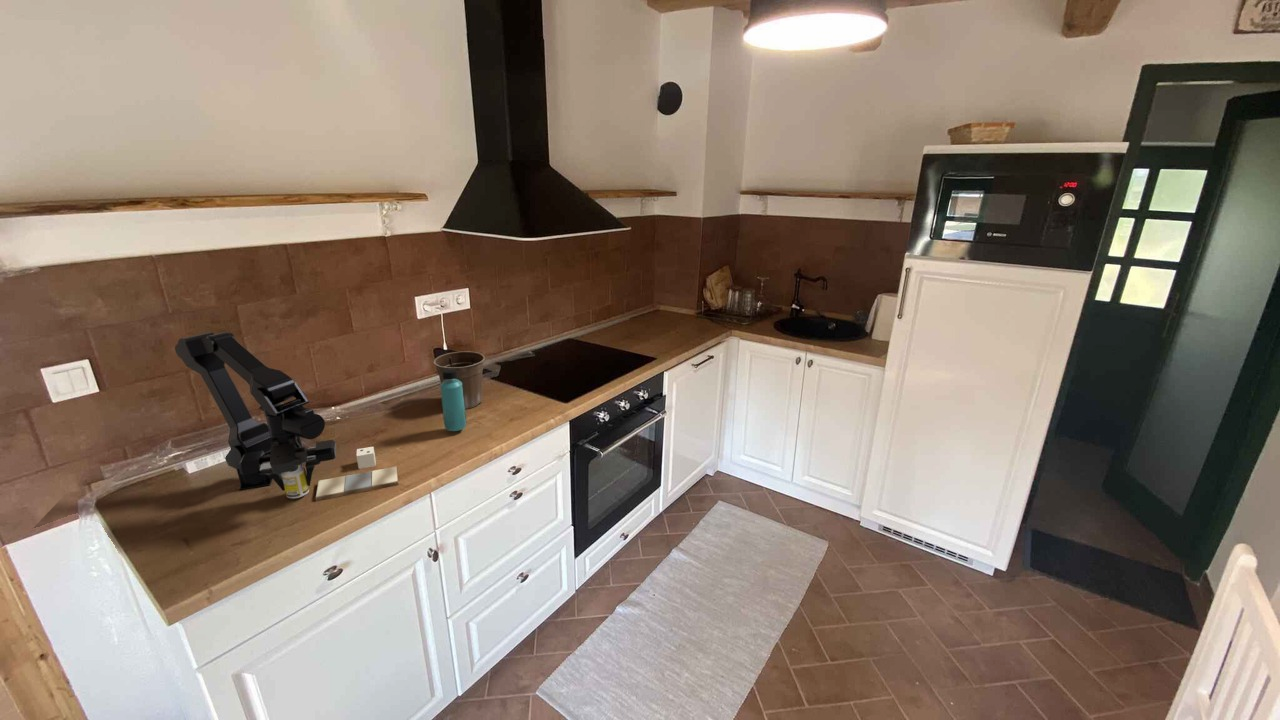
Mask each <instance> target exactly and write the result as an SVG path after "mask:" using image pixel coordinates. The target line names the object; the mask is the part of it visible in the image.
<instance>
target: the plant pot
mask: <svg viewBox="0 0 1280 720" xmlns="http://www.w3.org/2000/svg"><path fill="white" fill-rule="evenodd" d="M485 359H486V358H485V355H484V354H482V353H480V352H476V351H469V350H466V351H463V350H461V351H453V352H449V353H444V354H442V355H439V356H437V357H435V358H434V360H433V364H434V366H435V368H436V373H437V374H438V376H439V380H440V384H441V383H442V382H443V381H444V380H447V379H444V378H443V371H444V370H446V369H455V370H456V371H457V375H458V377H457V378H455V379H457V380H459V381H461V382H462V389H463V398H464V401H465V402H464V404H465V405H464V407H465V410H468V409H472V408H475V407H477V406H478V405H479V404H482V402H483V370H484V361H485Z"/></svg>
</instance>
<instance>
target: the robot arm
mask: <svg viewBox="0 0 1280 720" xmlns="http://www.w3.org/2000/svg"><path fill="white" fill-rule="evenodd" d="M174 351H175V353H176V356H178V357H179V358H180V359H181V360H182V362H183V363H184V365H185V366H186V367H187V368H189V369H191V370H192V371H194V372H196V373H197V374H200V376H201V378H202V379H203V381H204V383H205V385H206V387H207V388H208V391H209V392H210V394H211V396H212V399H214V402H215V403H216V405H217V407H218V409H219V411H220V412H221V414H222V417H223V418H224V420H225V422H226V423H227V426H228V428H229V434H228V440H227V442H228V445H229V447H230V450H229V451H228V452H227V454H226V456H225V457H224V459H225V461H226V463H227V466H229V467H231V468H234V469H236V473H237V475H238V479H239V486H238V489H239V491H243V490H244V491H245V490H248V489H249V490H250V489H255V488H260V487H264V486H265V487H266V486H271V484H272V481H274V482H275V483H276V485H278V486H279V488H280V489H281V490H282V491H283V492H285V488H284V484H283V480H282V475H281V474H282V473H284V472H293V471H296V470H297V469H298V465H301V464H302V465H303V463H305V464H304V465H305V467H304V468H305V472H306V476H307V484H308V486H309V487H310V486H311V483H312V478H313V473H314V472H313V471H314V469H315V466H318V465H320V464H321V462H326V461H327V462H328V461H332V460H334V459H336V458H337V449H338V447H337V442H336V441H335V440H334V439H329V440H322V441H316V444H315V446H313V447H312V446H310V447H308V448H306V447H304V446H303V445H304V444H303V441H302V440H303V439H306V440H314V439H317V438H318V437H319V436H320V435H321V434H322V433H323V431H324V429H325V428H326V427H325V425H326V424H325V423H326V421H325V419H324V418H323V416H322V415H320V414H318V413H315V411H314V409H313V408H311V407H304V406H305V405H308V404H310V403H309V402H310V401H309V400H308V399H307V395H306V393H305V392H304V391H303V390H302V389H301V388H300V387H299V385H298V383H297V382H296V381H295V380H294V379H293V378H292V377H291V376H290V375H288V374H286V373H285V372H283V371H282V370H280V369H275V368H271V367H268V366H266V365H265V364H264V363H263V362H262V361H261V360H260V359H258V358H257V357H256V356H255V355H254V354H252V353H251V352H250V351H249V350H248V349H247V348H245V347H244V346H243V345H242V344H241V343H240V342H239V341H237V339H236V337H235V335H234V334H233V332H229V331H228V332H225V331H224V332H219V333H214V332H211V331H208V332H204V333H201V334H200V333H199V334H195V335H190V336H186V337H183V338H179V339H178V341H177V344H176V345H175V346H174ZM225 364H226V365H227V366H228V367H229V368H230V369H231V370H232V371H234V372H235V373H236V374H237V375H238V376H240V378H241V379H243V380H244V381H245V382H246V383H247V384H248V385H249V394H250V395H251V396H252V397H253V399H254V401H256V403H258V405H260V406H259V407H258V410H259V411H260V412H261V411H262V412H264V416H265V419H266V423H265V422H262V423H260V422H258V421H257V420H256V419H254V418H253V416H252V414H251V413H250V410H249V409H248V407H247V405H246V403H245V401H244V400H243V398H242V395H241V394H240V392H239V390H238V388H237V386H236V385H235V383H234V380H233V378H232V377H231V376H230V373H229V372H228V369H227V368H226V366H225ZM291 399H292V400H291ZM286 401H287V402H286Z"/></svg>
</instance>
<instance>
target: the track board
mask: <svg viewBox="0 0 1280 720" xmlns="http://www.w3.org/2000/svg"><path fill="white" fill-rule="evenodd" d="M398 474H399V473H398V467H397V466H391V467H385V468H380V469H376V470H374V469H373V470H370V471H365V472H358V473H353V474H348V475H343V476H342V475H341V476H337V477H336V476H335V477H332V478H325V479H320V480H318V482H317V487H316V494H315V501H316V502H318V501H324V500H327V499H333V498H339V497H342V496H349V495H353V494H358V493H364V492H368V491H373V490H377V489H378V490H379V489H383V488H388V487H395V486H397V485H399V475H398Z"/></svg>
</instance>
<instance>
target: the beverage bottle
mask: <svg viewBox="0 0 1280 720" xmlns="http://www.w3.org/2000/svg"><path fill="white" fill-rule="evenodd" d="M457 377H458V375H457V371H456V370H455V369H446V370H444V371H443V378H444V379H447V380H444V381H443V382H442V383H441V382H440V385H439V388H440V394H441V396H440V397H441V406H442V415H443V417H442V418H443V424H444V428H445V429H446V430H447V431H448V432H450V431H451V432H457V431H461V430H463V429H465V428H466V427H467V415H466V409H465V407H464V405H465V404H464V402H465V401H464V398H463V389H462V382H461V381H459V380H457V379H455V378H457Z"/></svg>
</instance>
